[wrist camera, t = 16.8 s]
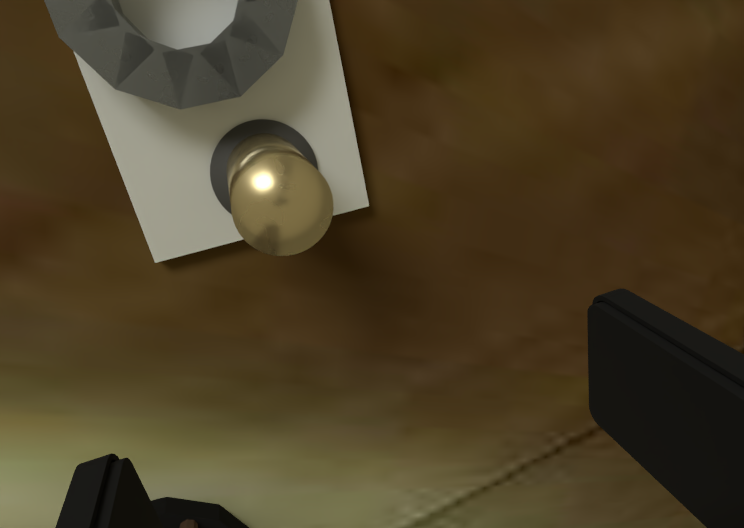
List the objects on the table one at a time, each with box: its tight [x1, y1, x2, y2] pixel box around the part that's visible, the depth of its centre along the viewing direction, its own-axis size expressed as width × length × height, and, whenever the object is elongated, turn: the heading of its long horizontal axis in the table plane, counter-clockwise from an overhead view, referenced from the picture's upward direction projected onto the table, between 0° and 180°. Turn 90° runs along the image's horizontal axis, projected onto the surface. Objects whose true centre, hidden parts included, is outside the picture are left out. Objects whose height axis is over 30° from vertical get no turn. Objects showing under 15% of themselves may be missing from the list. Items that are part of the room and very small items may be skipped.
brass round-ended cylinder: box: [227, 133, 333, 256], centre depth 30 cm, size 5×5×10 cm
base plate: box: [74, 0, 369, 263], centre depth 32 cm, size 15×22×1 cm
